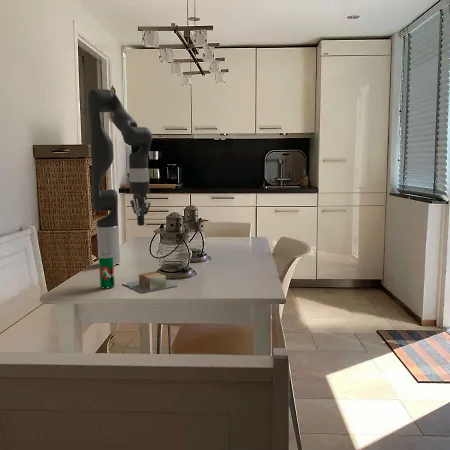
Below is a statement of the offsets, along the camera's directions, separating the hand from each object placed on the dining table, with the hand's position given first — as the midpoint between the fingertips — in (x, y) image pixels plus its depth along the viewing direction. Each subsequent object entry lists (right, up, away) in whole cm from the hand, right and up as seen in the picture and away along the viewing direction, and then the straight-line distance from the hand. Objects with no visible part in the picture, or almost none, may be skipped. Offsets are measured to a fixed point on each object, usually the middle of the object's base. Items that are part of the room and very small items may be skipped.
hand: (140, 225), depth 185 cm
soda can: (-10, -23, -12) cm, 28 cm away
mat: (+5, -22, -11) cm, 25 cm away
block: (+4, -19, -10) cm, 22 cm away
